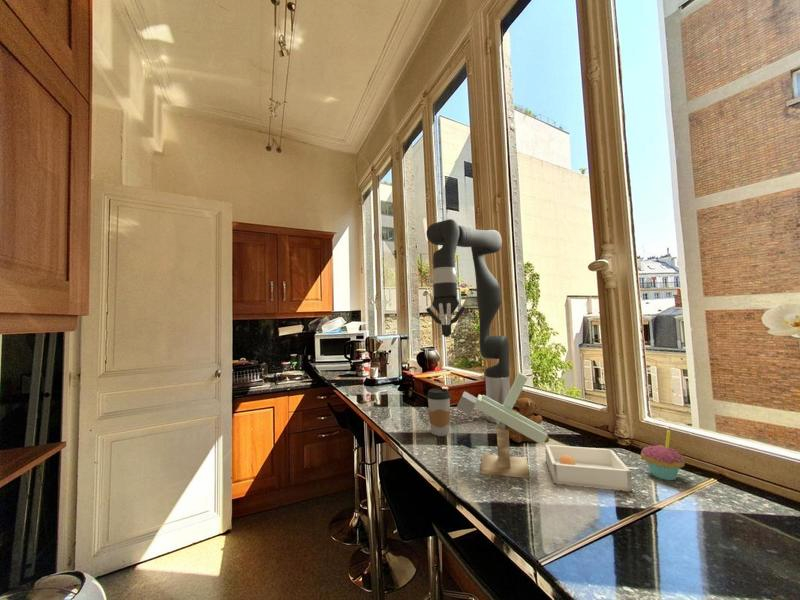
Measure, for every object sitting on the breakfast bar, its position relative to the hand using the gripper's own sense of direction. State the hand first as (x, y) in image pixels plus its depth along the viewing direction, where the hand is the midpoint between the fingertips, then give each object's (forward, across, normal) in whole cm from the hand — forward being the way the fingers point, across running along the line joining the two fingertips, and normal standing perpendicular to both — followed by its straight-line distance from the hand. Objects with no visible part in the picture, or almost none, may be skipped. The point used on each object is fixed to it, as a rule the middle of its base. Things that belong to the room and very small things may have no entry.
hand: (446, 336), depth 104 cm
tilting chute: (+24, +14, -8) cm, 29 cm away
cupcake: (+35, +53, -6) cm, 64 cm away
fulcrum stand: (+35, +16, -9) cm, 39 cm away
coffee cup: (+35, -6, +14) cm, 38 cm away
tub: (+35, +35, -9) cm, 50 cm away
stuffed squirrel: (+35, +22, +14) cm, 44 cm away
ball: (+32, +31, -9) cm, 46 cm away
